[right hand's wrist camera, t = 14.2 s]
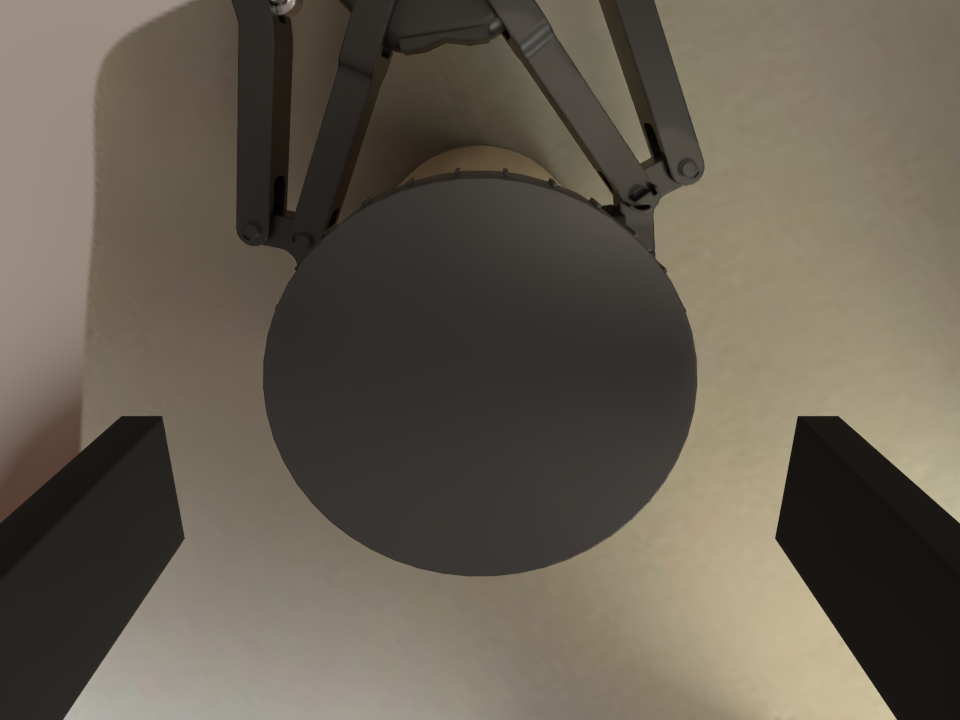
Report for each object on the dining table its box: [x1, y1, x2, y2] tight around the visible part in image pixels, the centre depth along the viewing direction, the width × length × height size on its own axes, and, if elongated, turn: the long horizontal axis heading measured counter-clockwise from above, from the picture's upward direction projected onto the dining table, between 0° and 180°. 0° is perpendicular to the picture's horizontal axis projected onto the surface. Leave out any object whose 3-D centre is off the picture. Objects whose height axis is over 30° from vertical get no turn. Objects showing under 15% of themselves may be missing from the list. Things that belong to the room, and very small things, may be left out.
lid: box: [263, 168, 697, 576], centre depth 17 cm, size 11×11×2 cm
